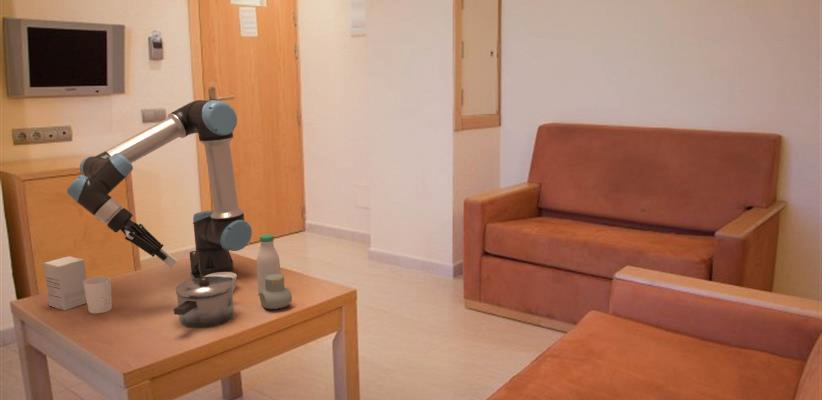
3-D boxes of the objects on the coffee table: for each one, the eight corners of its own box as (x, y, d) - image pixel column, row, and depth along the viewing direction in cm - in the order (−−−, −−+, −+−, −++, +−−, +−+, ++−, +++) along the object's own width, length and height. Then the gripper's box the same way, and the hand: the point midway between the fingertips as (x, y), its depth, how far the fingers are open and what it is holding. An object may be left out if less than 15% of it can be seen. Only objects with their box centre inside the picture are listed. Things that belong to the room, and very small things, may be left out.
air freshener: (294, 309, 207) (292, 278, 205) (268, 314, 203) (266, 283, 201) (283, 299, 217) (281, 270, 215) (258, 303, 213) (256, 274, 211)
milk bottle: (283, 294, 221) (280, 237, 217) (260, 297, 218) (256, 239, 215) (279, 287, 228) (275, 232, 224) (256, 290, 225) (253, 234, 222)
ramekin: (236, 284, 233) (235, 270, 232) (239, 293, 223) (238, 278, 222) (203, 288, 230) (202, 273, 229) (205, 298, 219) (203, 283, 218)
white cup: (103, 315, 205) (99, 284, 203) (81, 313, 207) (77, 283, 205) (118, 306, 213) (115, 276, 211) (97, 305, 214) (94, 275, 212)
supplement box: (74, 298, 222) (69, 255, 219) (90, 302, 217) (85, 258, 214) (48, 306, 214) (42, 262, 211) (64, 311, 210) (58, 266, 207)
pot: (206, 338, 185) (204, 308, 183) (155, 335, 188) (152, 305, 187) (252, 302, 213) (250, 276, 212) (207, 300, 217) (205, 274, 215)
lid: (238, 291, 196) (236, 264, 194) (180, 301, 188) (178, 273, 186) (220, 271, 216) (219, 247, 215) (168, 279, 209) (165, 254, 207)
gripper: (112, 220, 210) (171, 267, 215) (99, 229, 197) (162, 279, 203) (128, 203, 210) (186, 250, 215) (116, 211, 197) (178, 261, 202)
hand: (174, 264), depth 209 cm, fingers closed
